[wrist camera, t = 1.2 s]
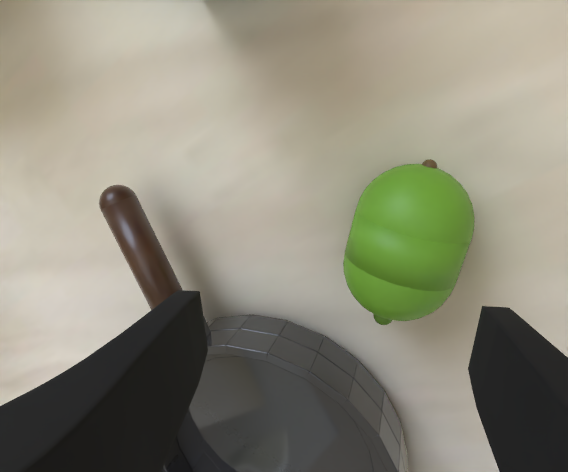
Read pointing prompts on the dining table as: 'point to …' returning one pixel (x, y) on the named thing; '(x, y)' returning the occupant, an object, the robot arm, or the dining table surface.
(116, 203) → the pan handle
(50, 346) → the dining table surface
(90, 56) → the dining table surface
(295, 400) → the pan
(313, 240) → the dining table surface
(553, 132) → the dining table surface
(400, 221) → the lime
